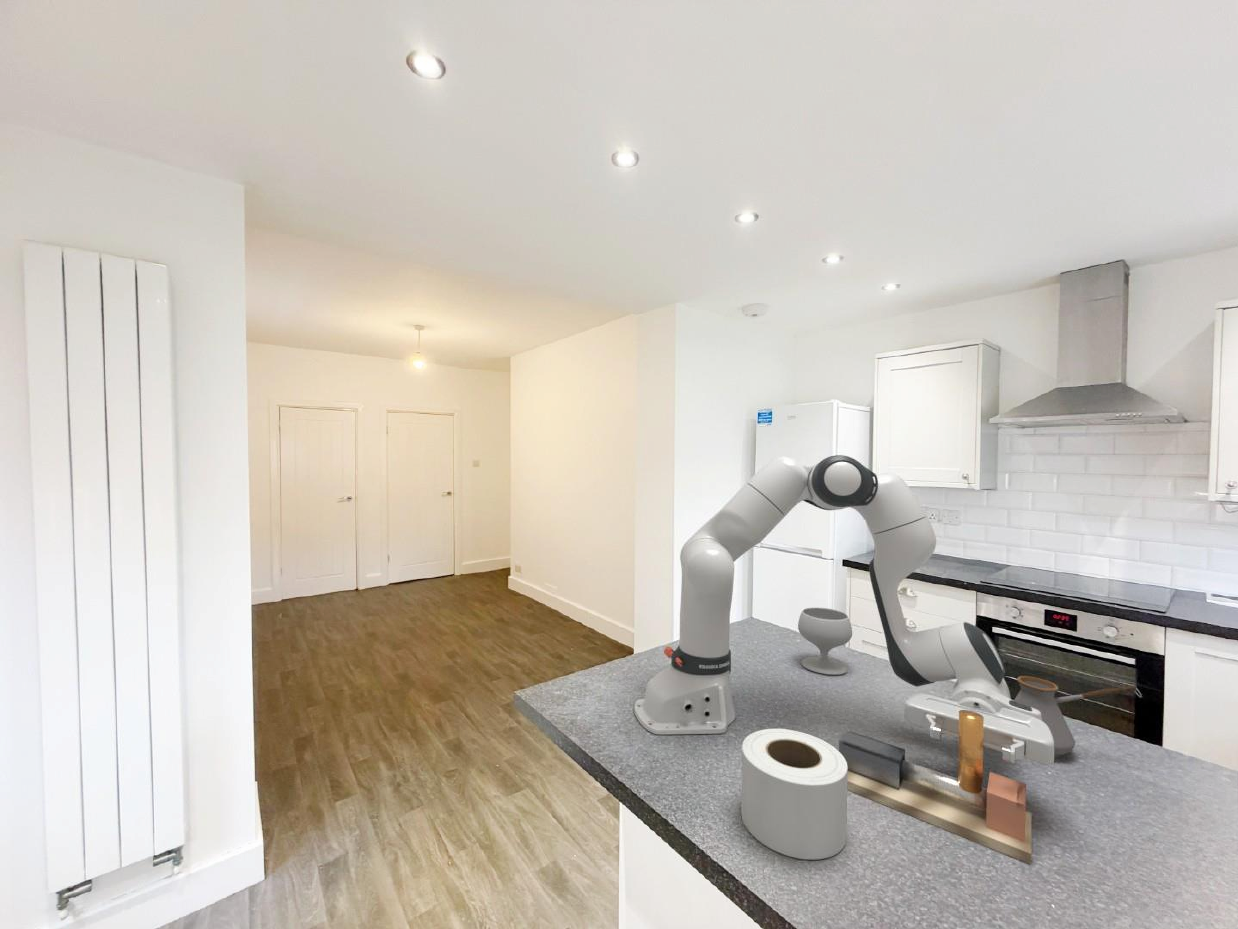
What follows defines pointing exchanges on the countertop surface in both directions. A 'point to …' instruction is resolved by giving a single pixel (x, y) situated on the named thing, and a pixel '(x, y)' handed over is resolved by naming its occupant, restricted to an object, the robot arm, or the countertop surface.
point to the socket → (1006, 806)
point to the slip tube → (969, 766)
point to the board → (943, 814)
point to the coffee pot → (1056, 707)
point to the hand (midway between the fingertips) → (970, 745)
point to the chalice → (824, 637)
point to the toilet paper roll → (794, 793)
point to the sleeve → (872, 758)
